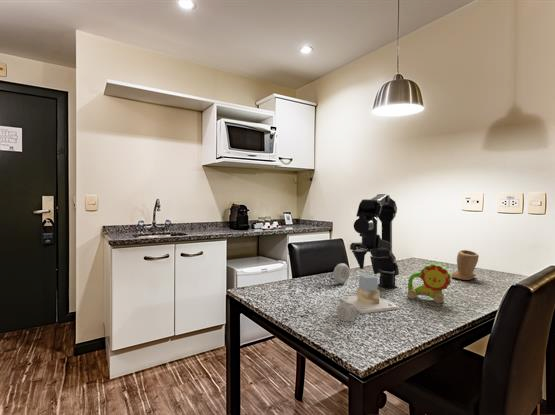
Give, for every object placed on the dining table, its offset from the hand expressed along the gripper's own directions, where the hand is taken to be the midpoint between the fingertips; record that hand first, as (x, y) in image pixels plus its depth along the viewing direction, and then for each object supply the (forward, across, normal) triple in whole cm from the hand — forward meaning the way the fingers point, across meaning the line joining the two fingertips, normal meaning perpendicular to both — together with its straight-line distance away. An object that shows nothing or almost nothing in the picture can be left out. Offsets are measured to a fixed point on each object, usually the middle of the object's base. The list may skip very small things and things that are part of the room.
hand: (368, 271), depth 123 cm
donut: (+13, +29, -5) cm, 32 cm away
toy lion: (+13, -2, -28) cm, 31 cm away
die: (+13, -11, +16) cm, 24 cm away
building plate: (+13, 0, 0) cm, 13 cm away
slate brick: (+7, 0, 0) cm, 7 cm away
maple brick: (+12, 0, 0) cm, 12 cm away
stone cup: (+13, +21, -75) cm, 79 cm away
